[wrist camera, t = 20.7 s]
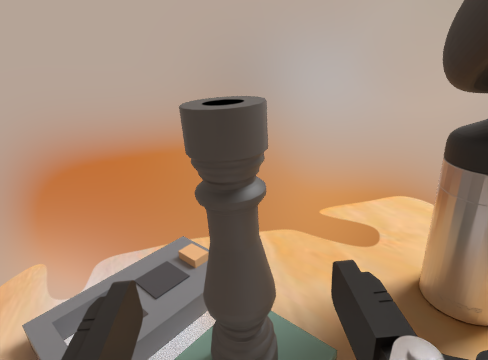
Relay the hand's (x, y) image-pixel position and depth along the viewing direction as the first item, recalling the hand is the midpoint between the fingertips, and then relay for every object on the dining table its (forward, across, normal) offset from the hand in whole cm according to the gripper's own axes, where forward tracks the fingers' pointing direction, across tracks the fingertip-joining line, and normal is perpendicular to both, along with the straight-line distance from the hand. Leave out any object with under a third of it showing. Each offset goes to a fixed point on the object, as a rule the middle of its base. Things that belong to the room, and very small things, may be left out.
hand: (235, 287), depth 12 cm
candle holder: (+10, 0, +20) cm, 22 cm away
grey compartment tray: (+20, +12, +20) cm, 31 cm away
